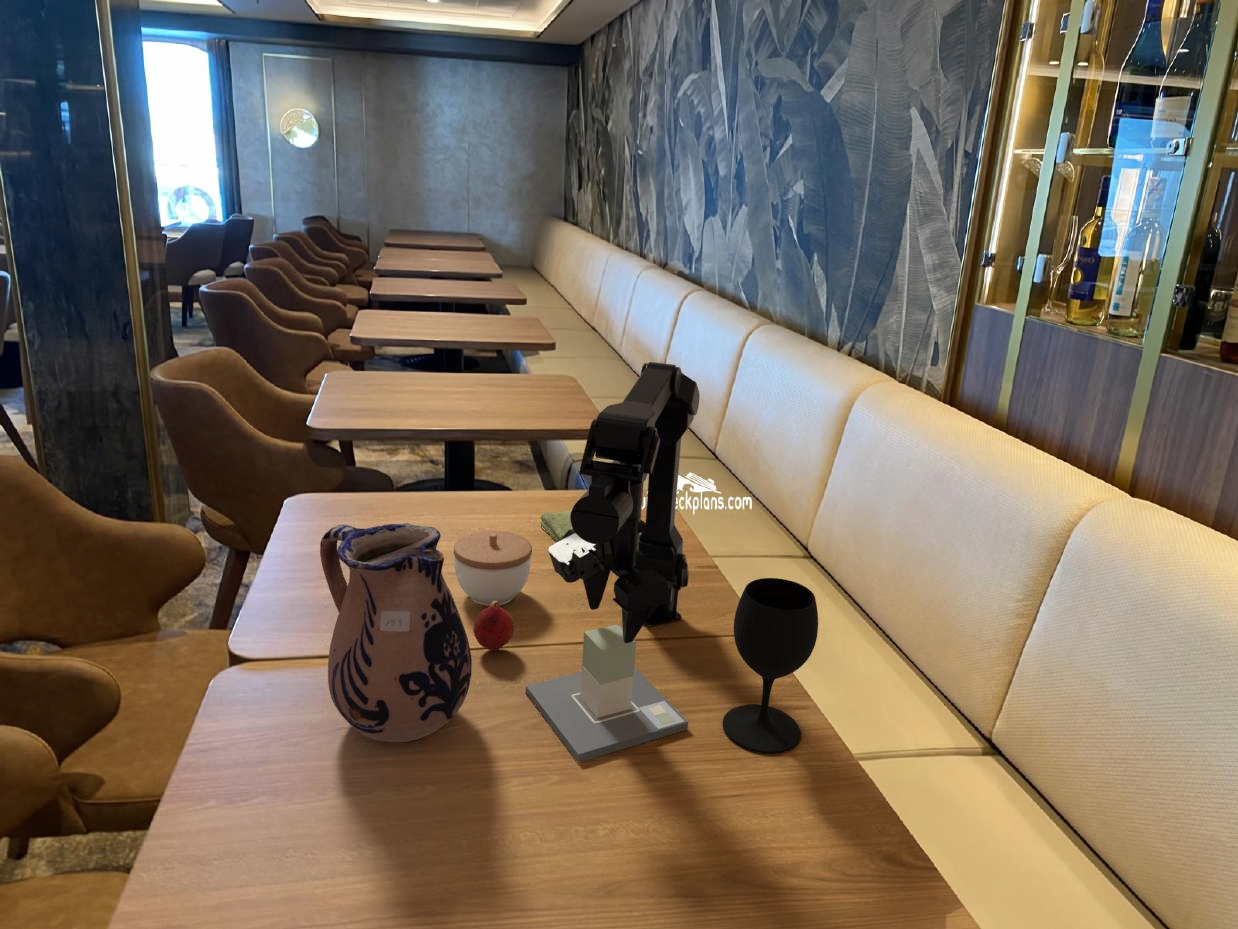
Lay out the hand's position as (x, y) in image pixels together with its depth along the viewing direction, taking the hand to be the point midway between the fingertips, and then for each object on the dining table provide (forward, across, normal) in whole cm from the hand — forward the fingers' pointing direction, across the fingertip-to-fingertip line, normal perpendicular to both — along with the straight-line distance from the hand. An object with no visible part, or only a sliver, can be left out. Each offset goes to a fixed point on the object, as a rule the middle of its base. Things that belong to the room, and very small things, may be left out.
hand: (610, 625), depth 113 cm
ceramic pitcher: (+13, -10, -26) cm, 31 cm away
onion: (+13, -20, -8) cm, 25 cm away
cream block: (+12, 0, 0) cm, 12 cm away
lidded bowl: (+13, -36, -2) cm, 38 cm away
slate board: (+13, 0, 0) cm, 13 cm away
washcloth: (+14, -53, +23) cm, 59 cm away
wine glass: (+13, +12, +17) cm, 25 cm away
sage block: (+7, 0, 0) cm, 7 cm away
